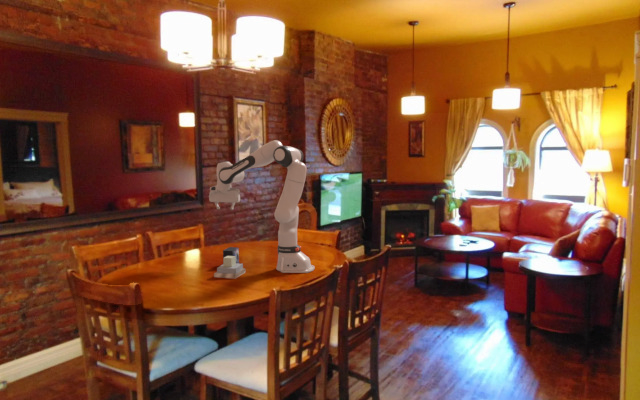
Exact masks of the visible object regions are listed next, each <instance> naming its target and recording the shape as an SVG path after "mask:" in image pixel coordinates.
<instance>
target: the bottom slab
mask: <svg viewBox="0 0 640 400" xmlns="http://www.w3.org/2000/svg"><path fill="white" fill-rule="evenodd" d="M245 273H246V268H244V267H243V269H242V270H241V271H239V272H238V273H237V274H224V273H217V271H216V272H214V273H213V277H214V278H222V279H223V278H224V279H237V278H239V277H240V276H242V275H244V274H245Z"/></svg>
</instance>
